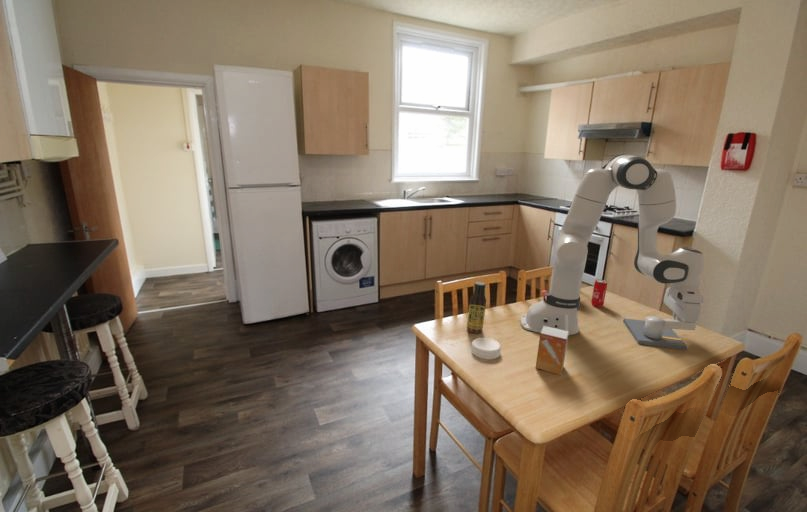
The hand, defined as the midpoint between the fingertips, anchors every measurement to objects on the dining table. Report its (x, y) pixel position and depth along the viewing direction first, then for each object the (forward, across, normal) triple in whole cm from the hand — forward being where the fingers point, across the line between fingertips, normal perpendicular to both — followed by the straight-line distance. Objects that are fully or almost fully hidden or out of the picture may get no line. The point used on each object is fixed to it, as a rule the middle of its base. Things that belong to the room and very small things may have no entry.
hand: (676, 324), depth 147 cm
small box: (+5, +35, -50) cm, 61 cm away
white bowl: (+5, +31, -70) cm, 77 cm away
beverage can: (+6, -27, -21) cm, 35 cm away
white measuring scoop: (+4, +3, -4) cm, 6 cm away
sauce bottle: (+4, +15, -75) cm, 77 cm away
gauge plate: (+6, -1, -7) cm, 9 cm away
